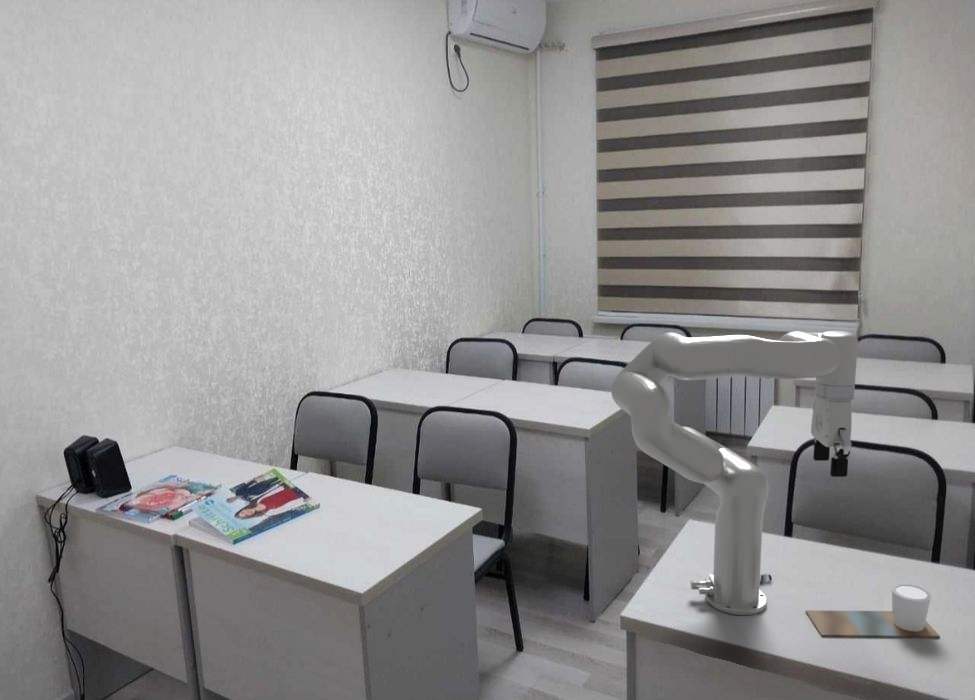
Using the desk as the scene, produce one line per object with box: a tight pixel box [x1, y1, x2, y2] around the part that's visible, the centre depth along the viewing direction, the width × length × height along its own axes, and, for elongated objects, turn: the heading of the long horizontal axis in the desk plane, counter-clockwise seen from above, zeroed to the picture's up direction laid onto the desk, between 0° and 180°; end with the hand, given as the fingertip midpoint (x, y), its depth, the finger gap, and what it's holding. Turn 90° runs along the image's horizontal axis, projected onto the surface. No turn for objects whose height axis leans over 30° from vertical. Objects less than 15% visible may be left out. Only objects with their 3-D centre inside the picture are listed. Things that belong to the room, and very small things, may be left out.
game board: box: [805, 609, 941, 639], centre depth 152 cm, size 22×9×1 cm, turn 86°
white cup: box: [891, 583, 932, 632], centre depth 150 cm, size 7×7×7 cm
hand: (829, 467), depth 160 cm, fingers open, 9 cm apart
